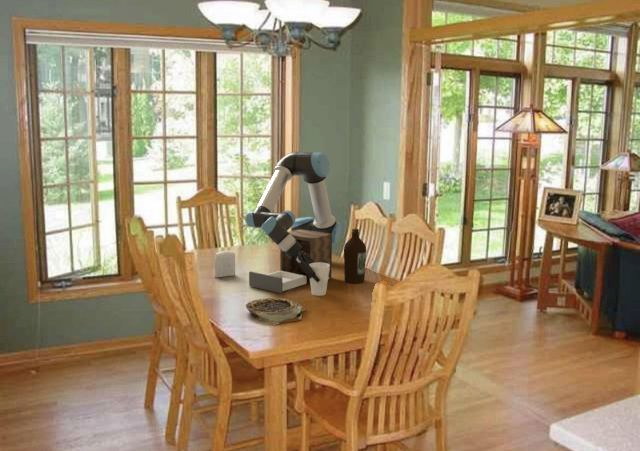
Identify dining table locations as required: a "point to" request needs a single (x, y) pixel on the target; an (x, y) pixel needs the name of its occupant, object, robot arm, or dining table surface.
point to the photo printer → (224, 264)
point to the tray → (276, 281)
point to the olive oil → (354, 259)
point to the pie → (274, 309)
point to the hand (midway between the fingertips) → (325, 283)
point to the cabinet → (309, 250)
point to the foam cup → (323, 272)
